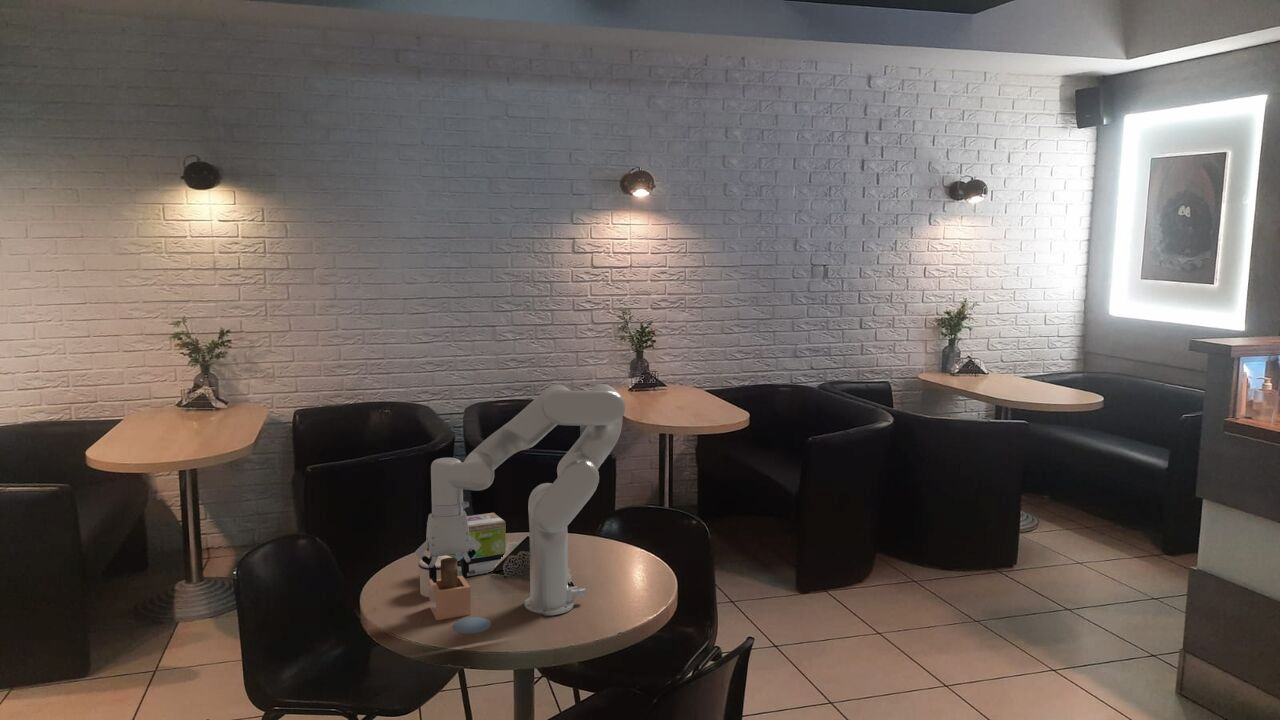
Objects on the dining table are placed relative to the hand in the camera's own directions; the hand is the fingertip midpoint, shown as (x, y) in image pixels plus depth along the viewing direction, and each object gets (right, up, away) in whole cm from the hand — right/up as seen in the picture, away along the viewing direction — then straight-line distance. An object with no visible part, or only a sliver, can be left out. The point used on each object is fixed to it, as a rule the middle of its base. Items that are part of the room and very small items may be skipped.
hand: (449, 578), depth 216 cm
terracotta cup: (0, -9, +1) cm, 9 cm away
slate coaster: (+7, -10, -7) cm, 14 cm away
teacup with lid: (-6, -8, +15) cm, 18 cm away
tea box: (+1, -6, +31) cm, 32 cm away
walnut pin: (0, -8, +1) cm, 8 cm away
